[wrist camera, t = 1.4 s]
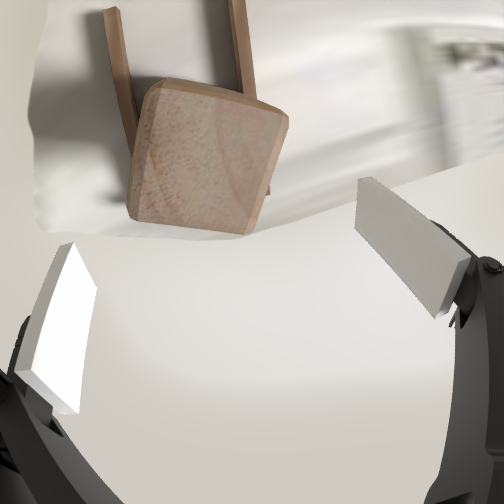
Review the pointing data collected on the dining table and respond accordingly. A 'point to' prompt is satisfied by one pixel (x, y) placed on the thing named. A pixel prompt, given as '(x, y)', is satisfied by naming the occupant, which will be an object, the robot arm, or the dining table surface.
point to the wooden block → (203, 157)
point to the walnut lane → (123, 76)
